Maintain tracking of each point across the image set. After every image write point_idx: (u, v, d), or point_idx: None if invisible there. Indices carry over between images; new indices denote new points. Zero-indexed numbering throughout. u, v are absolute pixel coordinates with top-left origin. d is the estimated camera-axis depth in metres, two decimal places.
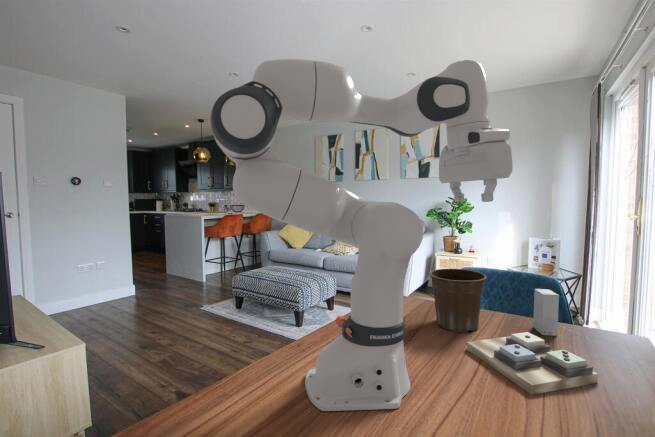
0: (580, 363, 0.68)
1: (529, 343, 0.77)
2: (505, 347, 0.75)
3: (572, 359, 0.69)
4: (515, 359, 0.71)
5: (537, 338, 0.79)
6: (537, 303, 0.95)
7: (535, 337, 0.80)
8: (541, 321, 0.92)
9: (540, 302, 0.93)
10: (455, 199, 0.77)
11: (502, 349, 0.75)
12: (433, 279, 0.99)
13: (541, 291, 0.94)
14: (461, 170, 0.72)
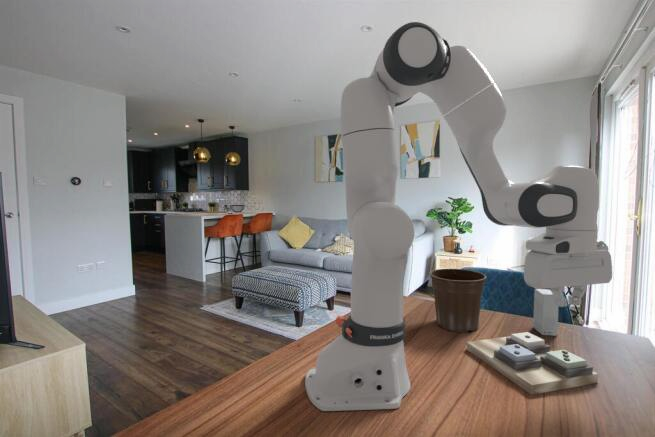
0: (580, 363, 0.68)
1: (529, 343, 0.77)
2: (505, 347, 0.75)
3: (572, 359, 0.69)
4: (515, 359, 0.71)
5: (537, 338, 0.79)
6: (537, 303, 0.95)
7: (535, 337, 0.80)
8: (541, 321, 0.92)
9: (540, 302, 0.93)
10: None
11: (502, 349, 0.75)
12: (433, 279, 0.99)
13: (541, 291, 0.94)
14: None
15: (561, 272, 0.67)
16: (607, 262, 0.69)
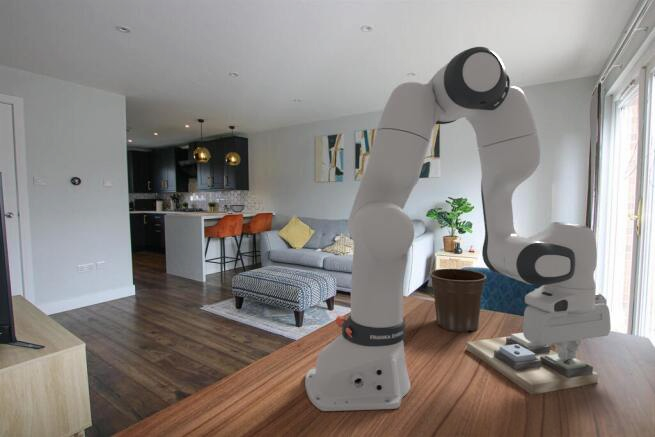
0: (580, 366, 0.68)
1: (529, 343, 0.77)
2: (505, 347, 0.75)
3: (571, 363, 0.69)
4: (515, 359, 0.71)
5: None
6: None
7: None
8: None
9: None
10: None
11: (502, 349, 0.75)
12: (433, 279, 0.99)
13: None
14: None
15: (560, 328, 0.67)
16: (605, 316, 0.70)
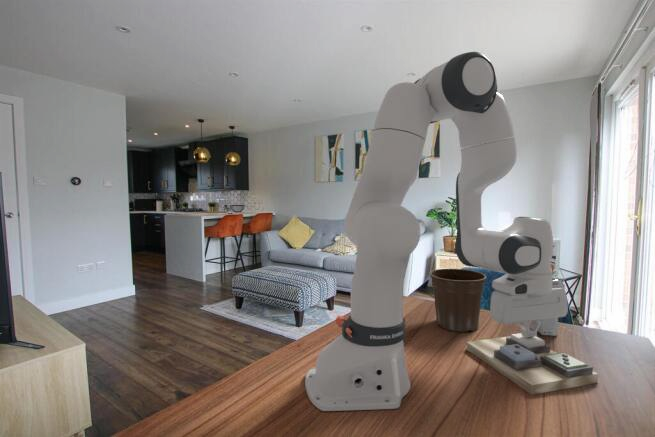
0: (580, 367, 0.68)
1: (529, 344, 0.77)
2: (505, 347, 0.75)
3: (571, 363, 0.69)
4: (515, 359, 0.71)
5: (537, 338, 0.79)
6: None
7: (535, 337, 0.80)
8: (541, 321, 0.92)
9: None
10: None
11: (502, 349, 0.75)
12: (433, 279, 0.99)
13: None
14: None
15: (521, 309, 0.77)
16: (562, 299, 0.80)
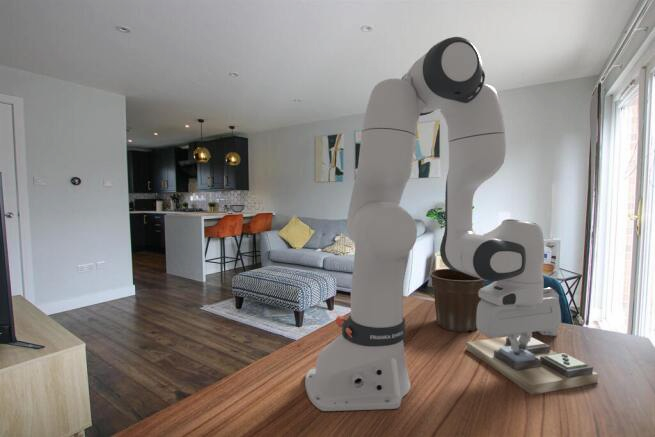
0: (580, 367, 0.68)
1: (529, 347, 0.77)
2: (505, 348, 0.75)
3: (571, 363, 0.69)
4: (515, 360, 0.71)
5: (537, 341, 0.79)
6: None
7: (535, 340, 0.80)
8: None
9: None
10: None
11: (502, 350, 0.75)
12: (433, 279, 0.99)
13: None
14: None
15: (510, 321, 0.70)
16: (555, 309, 0.73)
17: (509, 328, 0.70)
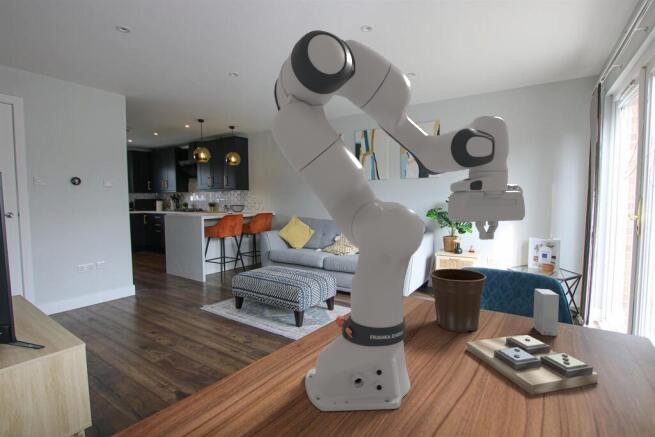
0: (580, 367, 0.68)
1: (529, 347, 0.77)
2: (505, 350, 0.75)
3: (571, 363, 0.69)
4: None
5: (537, 341, 0.79)
6: (537, 303, 0.95)
7: (535, 340, 0.80)
8: (541, 321, 0.92)
9: (540, 302, 0.93)
10: None
11: (502, 352, 0.75)
12: (433, 279, 0.99)
13: (541, 291, 0.94)
14: None
15: (477, 208, 0.78)
16: (519, 202, 0.80)
17: (476, 215, 0.78)
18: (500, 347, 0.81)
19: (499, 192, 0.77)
